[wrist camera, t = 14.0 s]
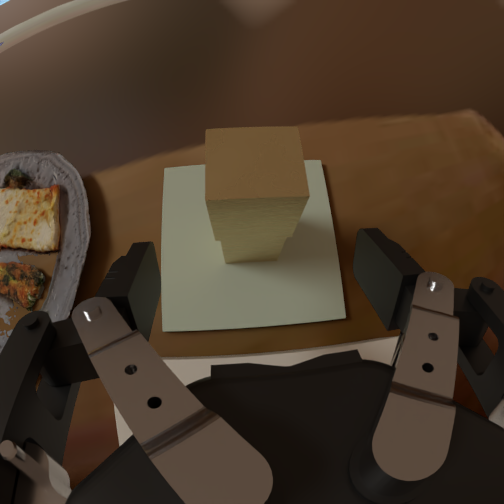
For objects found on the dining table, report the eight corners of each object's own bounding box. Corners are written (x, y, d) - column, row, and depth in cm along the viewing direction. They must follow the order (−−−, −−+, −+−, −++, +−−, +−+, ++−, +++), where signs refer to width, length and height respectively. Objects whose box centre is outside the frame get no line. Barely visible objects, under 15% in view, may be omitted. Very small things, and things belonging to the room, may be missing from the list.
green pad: (164, 331, 23) (162, 331, 22) (166, 171, 27) (164, 168, 26) (343, 318, 23) (345, 317, 23) (319, 163, 27) (320, 160, 27)
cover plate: (163, 552, 16) (153, 574, 13) (130, 356, 22) (110, 358, 18) (378, 531, 17) (394, 550, 14) (379, 337, 23) (402, 335, 19)
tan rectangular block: (221, 263, 24) (205, 200, 13) (219, 215, 25) (205, 129, 14) (281, 260, 24) (309, 196, 13) (276, 212, 25) (297, 126, 15)
